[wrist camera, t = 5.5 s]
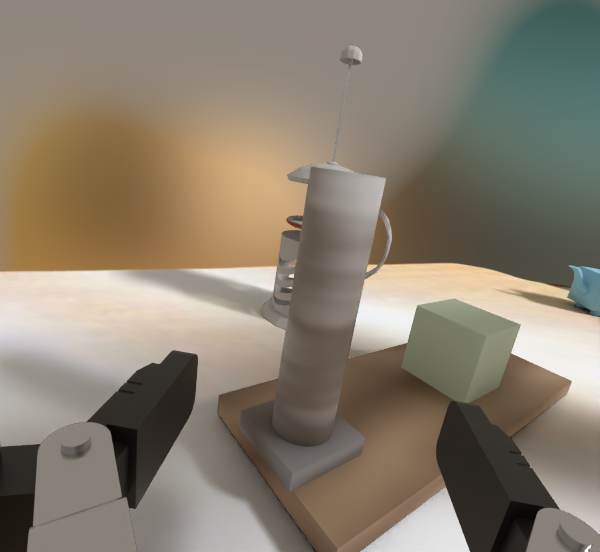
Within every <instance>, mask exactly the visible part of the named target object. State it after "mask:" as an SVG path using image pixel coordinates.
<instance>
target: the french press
mask: <svg viewBox="0 0 600 552" xmlns="http://www.w3.org/2000/svg"><path fill="white" fill-rule="evenodd" d="M340 61H341V62H343V63H345V64H349V66H348V72H347V78H346V84H345V90H344V96H343V102H342V107H341V114H340V119H339V125H338V131H337V137H336V143H335V149H334V154H333V161H332V162H328V163H327V164H311V165H307V166H304V167H300V168H298V169H296V170H295V171H293V172H291V173H290V174H288V175H287V176H288V179H289V180H290V181H295V182H299V183H305V184H308V182H309V176H310V169H311V167H318V168H325V169H332V170H339V171H345V172H351V173H355V172H353V171H351V170H349V169H346V168H344V167H341V166H339V164H338V163H337V162H335V156H336V151H337V145H338V138H339V133H340V127H341V121H342V116H343V110H344V104H345V98H346V92H347V87H348V81H349V74H350V69H351V65H358V64H361V61H362V53H361V51H360V49H359V48H358V47H356V46H348V47H347V48H346V49H344V50H343V51H342V53H341V58H340ZM379 215H380V216H381V218H382V219H383V221H384V223H385V227H386V230H387V240H388V242H387V246H386V250H385V253H384V257H383V259H382V261H381V262H380V263H379V264H378V266H377V267H376V268H374V269H373V270H371V271H369V272H367V273H366V275H367V276H366V275H365V279H367V278H368V277H370V276H372V275H373V274H375V273H376V272H377V271H378V270H379V269H380V267H381V266H382V265H383V263H384V261H385V259H386V257H387V255H388V252H389V248H390V244H391V242H392V233H391V227H390V223H389V219H388V218H387V216H386V215H385V214H384V212H383V211H382V210H381V209H379ZM302 221H303V217H302V216H299V217H298V216H290V217H288V218H287V222H288V223H289V224H290V225H292V226H294V227H295V228H299V229H301V228H302ZM300 234H301V231H299V230H291V231H290V230H289V231H284V232H283V233H282V236H281V243H280V250H279V257H278V265H277V271H276V278H275V285H274V292H273V298H272V299H270V300H269V301H267V302H266V303H265V304H264V305H263V307H262V308H261V312H262V314H263V316H264V318H266V319H267V320H268V321H270V322H271V323H272V324H274V325H275V326H278V327H280V328H283V329H285V330H286V325H287V319H288V312H289V306H290V299H291V293H292V289H289V288H287V287H292V286H293V280H294V278H289V277H288V276H289V274H294V273H295V267H296V266H295V267H291V266H290V262H291V261H292V262H296V260H297V254H298V247H299V241H300Z"/></svg>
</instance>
